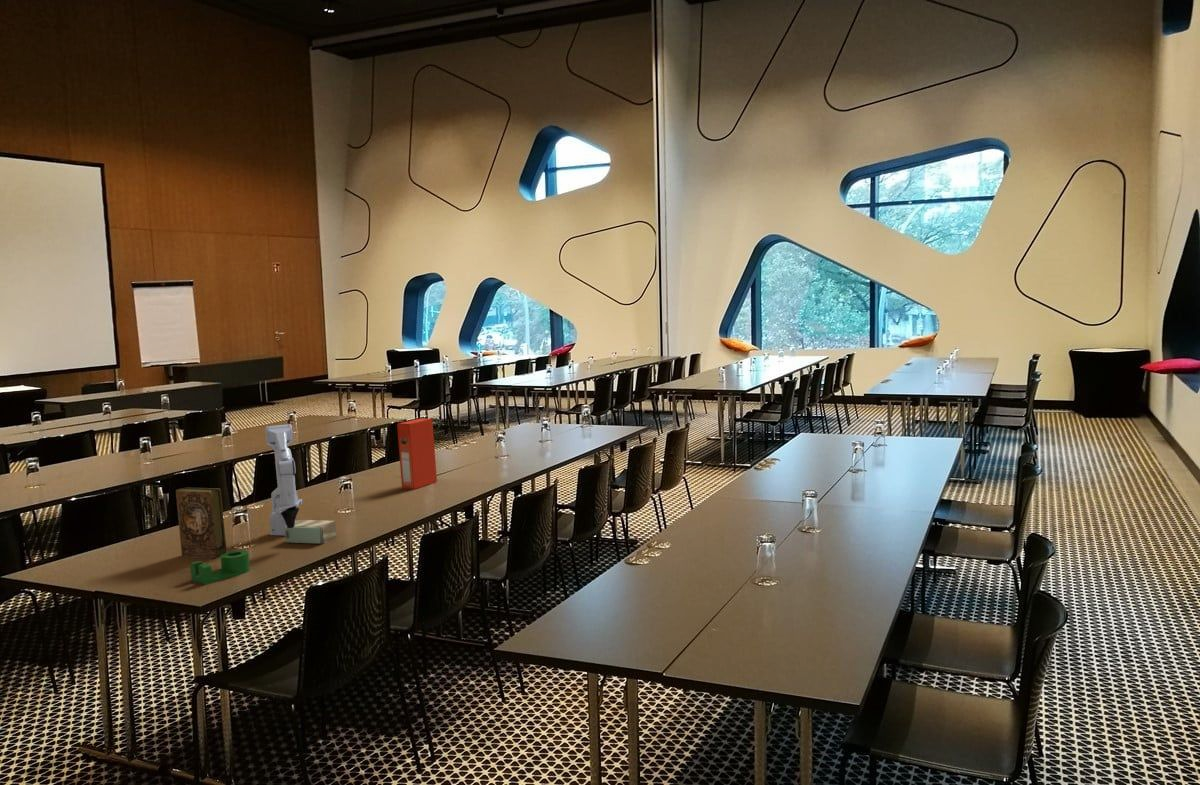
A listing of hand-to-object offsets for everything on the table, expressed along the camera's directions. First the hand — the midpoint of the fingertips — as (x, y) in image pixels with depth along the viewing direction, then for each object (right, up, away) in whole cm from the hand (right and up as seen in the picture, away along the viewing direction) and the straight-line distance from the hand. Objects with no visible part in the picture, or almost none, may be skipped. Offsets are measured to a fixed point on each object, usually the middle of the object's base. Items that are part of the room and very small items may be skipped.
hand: (290, 527), depth 332 cm
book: (-31, -10, -4) cm, 33 cm away
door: (+3, -7, +6) cm, 9 cm away
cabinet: (+4, -7, +12) cm, 14 cm away
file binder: (+27, +5, +104) cm, 107 cm away
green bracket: (-13, -12, -29) cm, 34 cm away
